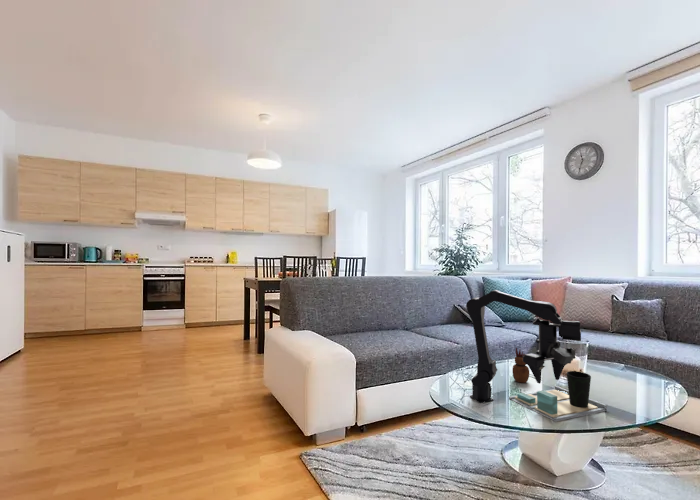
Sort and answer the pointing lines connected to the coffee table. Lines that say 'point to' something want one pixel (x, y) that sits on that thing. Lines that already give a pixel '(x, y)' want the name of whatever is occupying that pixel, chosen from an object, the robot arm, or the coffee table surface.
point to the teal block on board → (557, 405)
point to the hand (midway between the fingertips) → (548, 381)
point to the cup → (578, 388)
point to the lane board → (600, 405)
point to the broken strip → (532, 399)
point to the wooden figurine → (520, 368)
